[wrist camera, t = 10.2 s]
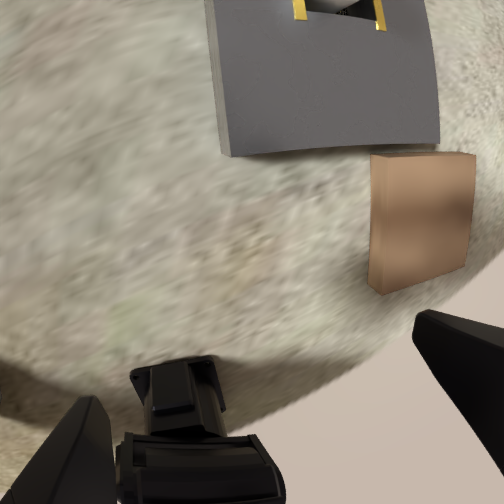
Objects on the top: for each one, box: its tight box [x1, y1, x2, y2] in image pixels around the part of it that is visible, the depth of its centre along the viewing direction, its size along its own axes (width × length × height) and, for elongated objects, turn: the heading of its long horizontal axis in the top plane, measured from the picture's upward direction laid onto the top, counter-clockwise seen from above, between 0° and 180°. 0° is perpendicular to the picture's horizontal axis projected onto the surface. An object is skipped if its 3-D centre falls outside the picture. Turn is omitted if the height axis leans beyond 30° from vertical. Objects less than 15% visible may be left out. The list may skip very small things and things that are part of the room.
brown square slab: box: [367, 152, 476, 296], centre depth 22 cm, size 10×10×2 cm
